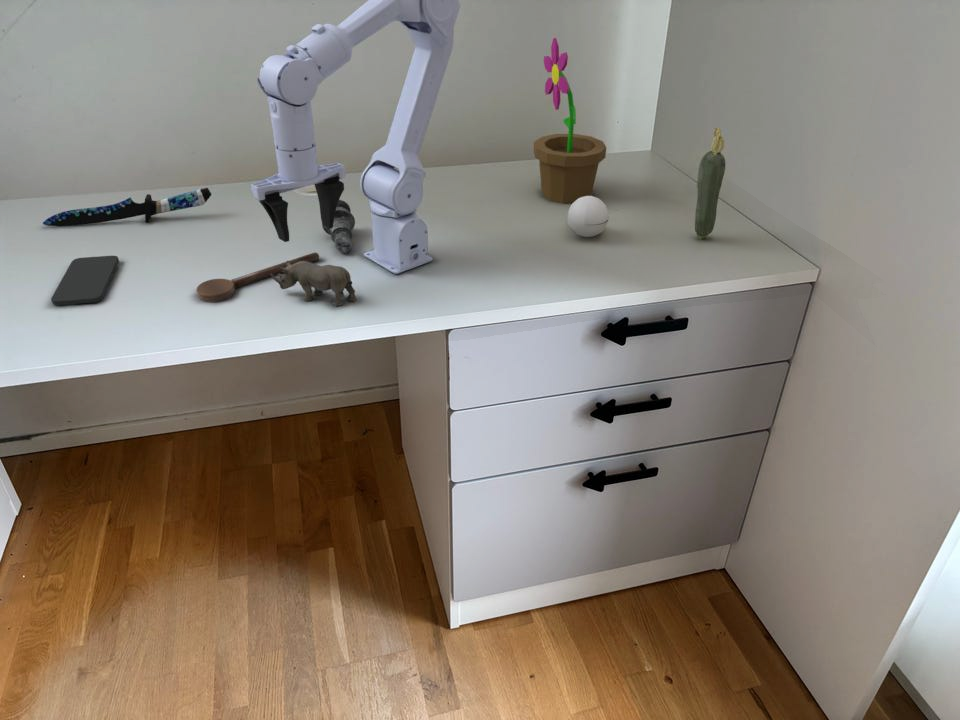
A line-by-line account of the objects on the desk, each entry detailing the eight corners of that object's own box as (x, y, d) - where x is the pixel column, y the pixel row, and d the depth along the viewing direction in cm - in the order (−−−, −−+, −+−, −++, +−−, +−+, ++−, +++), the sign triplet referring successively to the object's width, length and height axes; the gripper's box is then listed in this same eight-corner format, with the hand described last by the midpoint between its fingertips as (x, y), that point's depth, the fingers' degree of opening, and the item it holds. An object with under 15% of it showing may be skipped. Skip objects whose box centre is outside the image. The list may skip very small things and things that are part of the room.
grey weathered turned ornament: (334, 230, 142) (343, 271, 134) (312, 211, 138) (320, 251, 130) (358, 212, 140) (369, 252, 133) (337, 192, 136) (347, 232, 128)
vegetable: (712, 245, 137) (733, 134, 126) (687, 243, 138) (706, 132, 126) (710, 235, 140) (731, 126, 129) (686, 233, 141) (705, 124, 130)
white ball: (574, 246, 136) (577, 207, 132) (560, 229, 142) (563, 191, 138) (626, 240, 138) (631, 201, 134) (610, 224, 144) (614, 186, 140)
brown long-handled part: (310, 253, 133) (309, 246, 132) (327, 264, 129) (327, 257, 129) (191, 292, 121) (190, 284, 120) (207, 305, 118) (205, 297, 117)
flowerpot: (521, 185, 161) (527, 32, 144) (584, 178, 165) (597, 28, 148) (546, 210, 150) (556, 48, 133) (613, 203, 153) (630, 43, 137)
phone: (48, 302, 116) (73, 258, 129) (50, 306, 117) (74, 262, 129) (100, 298, 118) (119, 254, 130) (101, 302, 118) (120, 259, 130)
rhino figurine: (280, 285, 123) (275, 251, 120) (360, 296, 120) (356, 262, 117) (268, 296, 120) (262, 262, 117) (349, 309, 117) (345, 273, 114)
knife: (216, 207, 147) (209, 184, 144) (214, 213, 144) (206, 190, 142) (53, 231, 145) (43, 209, 142) (48, 237, 142) (38, 215, 140)
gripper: (324, 129, 116) (332, 213, 124) (235, 148, 108) (250, 237, 116) (349, 140, 112) (357, 226, 120) (259, 161, 104) (273, 252, 112)
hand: (306, 232), depth 117 cm, fingers open, 7 cm apart
